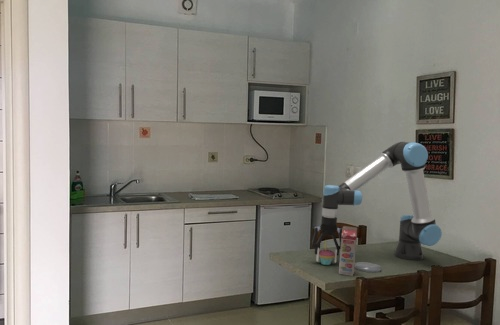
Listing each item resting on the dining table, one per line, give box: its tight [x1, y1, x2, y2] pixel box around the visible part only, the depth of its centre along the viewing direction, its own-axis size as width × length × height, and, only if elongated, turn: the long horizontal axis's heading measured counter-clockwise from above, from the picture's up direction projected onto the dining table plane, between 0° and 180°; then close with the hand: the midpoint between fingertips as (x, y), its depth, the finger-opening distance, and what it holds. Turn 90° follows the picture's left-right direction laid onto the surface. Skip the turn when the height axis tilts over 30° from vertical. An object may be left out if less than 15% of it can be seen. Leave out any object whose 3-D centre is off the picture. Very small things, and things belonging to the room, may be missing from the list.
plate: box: [354, 261, 382, 273], centre depth 227 cm, size 13×13×1 cm
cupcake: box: [319, 239, 335, 266], centre depth 230 cm, size 9×8×12 cm
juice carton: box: [338, 225, 358, 277], centre depth 217 cm, size 7×7×22 cm
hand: (326, 261), depth 230 cm, fingers closed on cupcake, 8 cm apart
